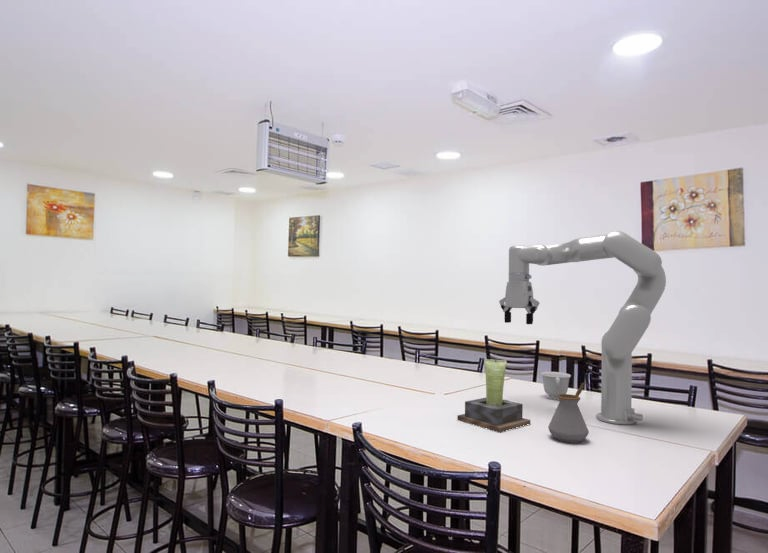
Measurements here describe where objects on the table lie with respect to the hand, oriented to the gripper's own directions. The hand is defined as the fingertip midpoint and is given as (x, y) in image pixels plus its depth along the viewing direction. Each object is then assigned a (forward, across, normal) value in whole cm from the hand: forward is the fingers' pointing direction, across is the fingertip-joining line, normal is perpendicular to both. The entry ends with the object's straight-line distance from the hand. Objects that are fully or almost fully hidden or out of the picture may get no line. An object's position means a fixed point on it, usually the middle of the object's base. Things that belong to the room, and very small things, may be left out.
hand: (518, 323), depth 184 cm
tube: (+31, -7, +22) cm, 39 cm away
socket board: (+32, -6, +23) cm, 40 cm away
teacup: (+32, +1, -28) cm, 43 cm away
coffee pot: (+32, -30, +14) cm, 47 cm away
